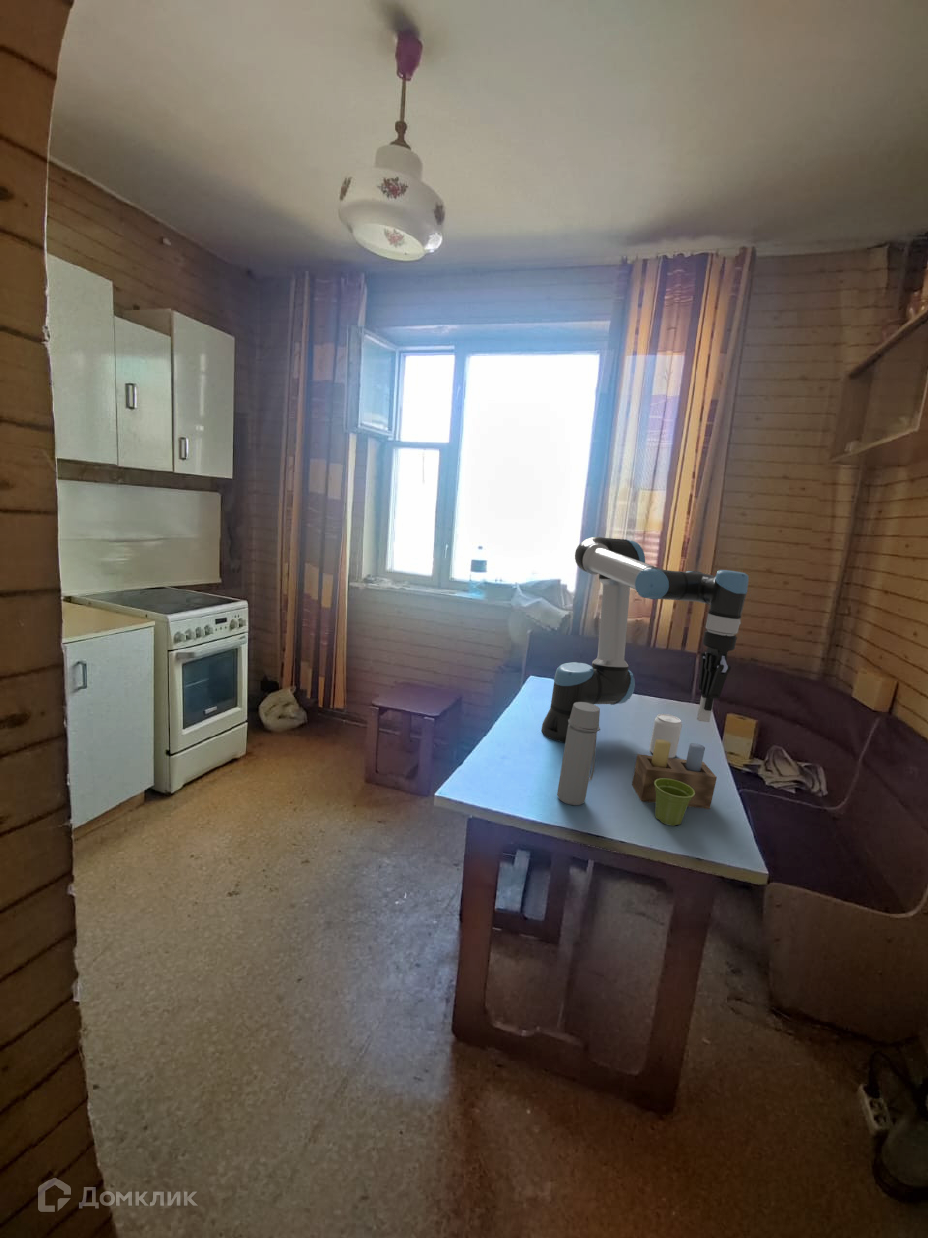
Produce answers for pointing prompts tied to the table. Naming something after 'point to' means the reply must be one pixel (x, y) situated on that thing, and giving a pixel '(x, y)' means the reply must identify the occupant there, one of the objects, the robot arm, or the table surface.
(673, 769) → the walnut block
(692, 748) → the blue peg
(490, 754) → the table surface
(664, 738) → the beverage can
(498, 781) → the table surface
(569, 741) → the water bottle
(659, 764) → the ochre peg
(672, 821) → the plant pot
